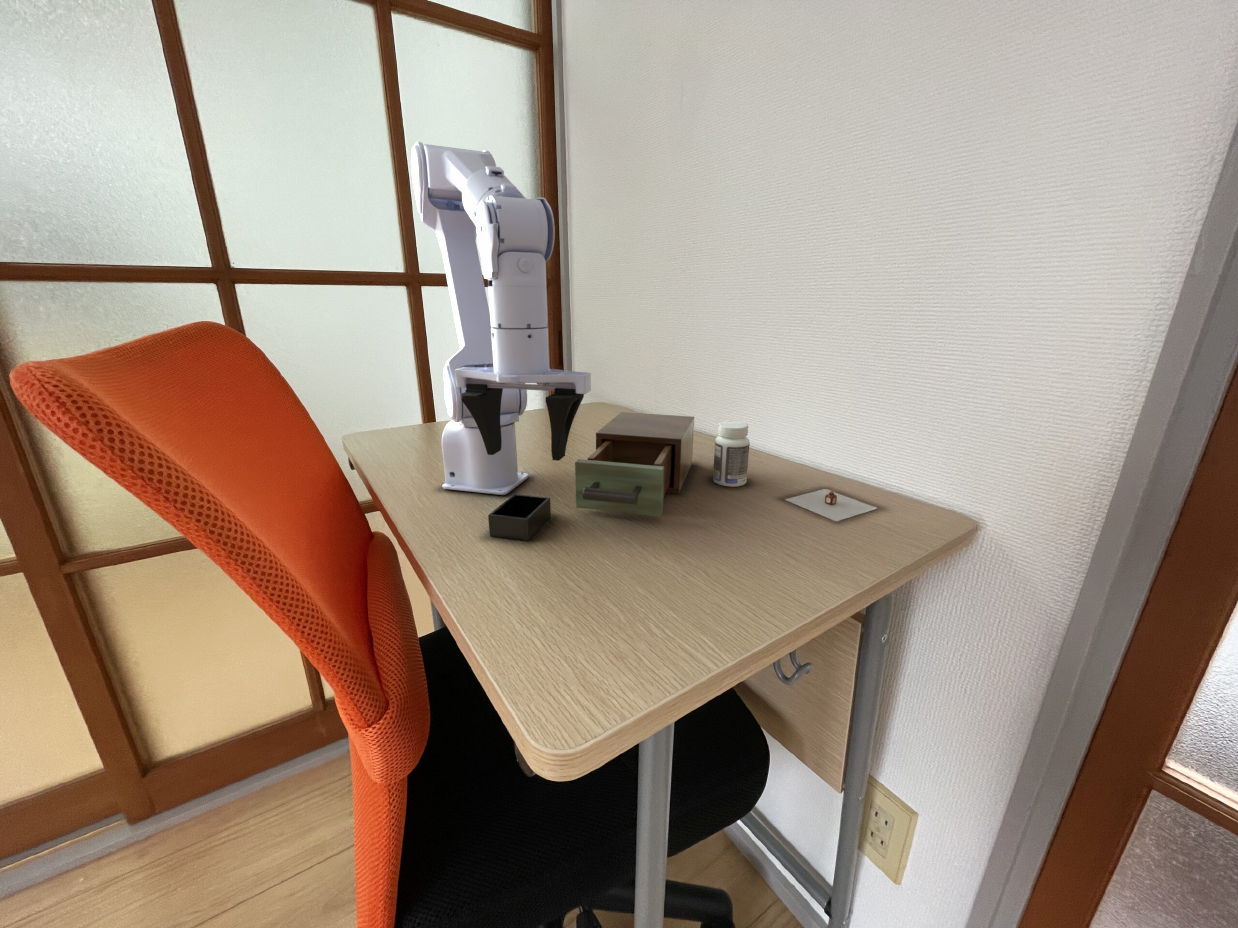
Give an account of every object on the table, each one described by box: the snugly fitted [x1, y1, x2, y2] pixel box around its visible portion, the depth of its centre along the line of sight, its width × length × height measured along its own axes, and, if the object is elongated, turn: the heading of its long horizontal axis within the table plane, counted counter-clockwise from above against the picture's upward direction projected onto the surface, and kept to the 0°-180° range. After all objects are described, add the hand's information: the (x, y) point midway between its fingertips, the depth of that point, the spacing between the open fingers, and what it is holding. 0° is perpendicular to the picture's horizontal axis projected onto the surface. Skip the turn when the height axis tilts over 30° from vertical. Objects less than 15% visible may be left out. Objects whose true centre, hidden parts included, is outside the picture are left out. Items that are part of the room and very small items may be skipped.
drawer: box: [574, 439, 674, 518], centre depth 65 cm, size 16×10×6 cm, turn 165°
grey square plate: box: [784, 488, 878, 522], centre depth 67 cm, size 8×8×2 cm
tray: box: [487, 493, 552, 542], centre depth 60 cm, size 5×6×3 cm
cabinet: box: [595, 411, 695, 495], centre depth 77 cm, size 14×12×8 cm
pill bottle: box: [712, 420, 751, 488], centre depth 74 cm, size 5×5×8 cm
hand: (526, 455), depth 58 cm, fingers open, 7 cm apart
